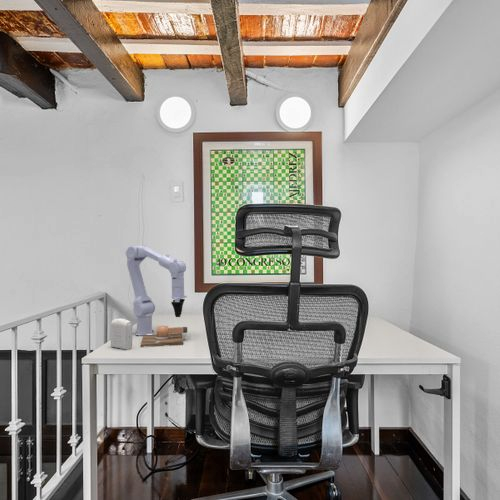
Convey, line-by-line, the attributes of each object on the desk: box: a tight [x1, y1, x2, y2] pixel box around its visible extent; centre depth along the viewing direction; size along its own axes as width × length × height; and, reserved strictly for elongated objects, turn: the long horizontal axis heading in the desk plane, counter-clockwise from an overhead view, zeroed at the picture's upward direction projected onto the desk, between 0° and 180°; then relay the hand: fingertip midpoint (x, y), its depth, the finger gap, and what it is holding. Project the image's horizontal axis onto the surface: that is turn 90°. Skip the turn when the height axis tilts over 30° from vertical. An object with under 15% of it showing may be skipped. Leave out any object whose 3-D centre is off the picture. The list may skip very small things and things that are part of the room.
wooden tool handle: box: [156, 325, 188, 337], centre depth 177 cm, size 14×5×4 cm, turn 102°
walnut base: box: [140, 333, 184, 348], centre depth 176 cm, size 18×18×2 cm
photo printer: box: [110, 318, 133, 350], centre depth 165 cm, size 10×4×12 cm, turn 60°
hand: (178, 315), depth 183 cm, fingers open, 7 cm apart
